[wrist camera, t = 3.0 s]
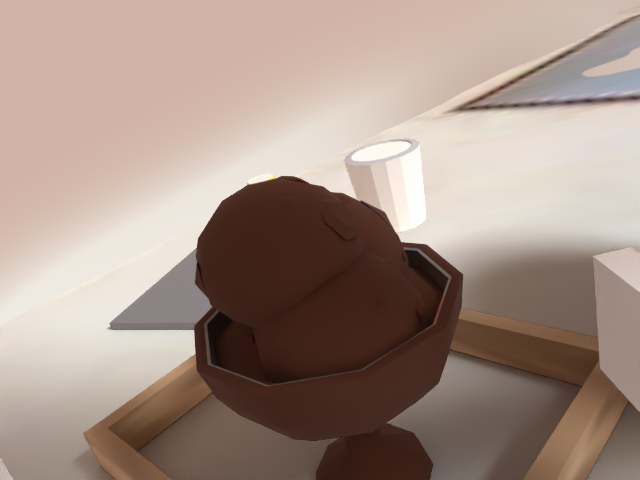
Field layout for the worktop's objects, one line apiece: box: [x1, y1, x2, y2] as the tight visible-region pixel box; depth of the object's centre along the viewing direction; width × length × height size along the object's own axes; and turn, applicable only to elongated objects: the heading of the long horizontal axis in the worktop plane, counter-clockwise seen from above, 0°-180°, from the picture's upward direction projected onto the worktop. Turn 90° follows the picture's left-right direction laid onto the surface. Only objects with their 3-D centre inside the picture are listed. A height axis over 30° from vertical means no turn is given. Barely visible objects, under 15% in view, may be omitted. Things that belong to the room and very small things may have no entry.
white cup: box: [344, 139, 426, 233], centre depth 51 cm, size 7×7×7 cm
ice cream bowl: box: [194, 176, 463, 480], centre depth 23 cm, size 11×11×15 cm
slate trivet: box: [109, 248, 212, 329], centre depth 50 cm, size 15×15×1 cm
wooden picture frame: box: [84, 308, 629, 480], centre depth 28 cm, size 18×22×2 cm
